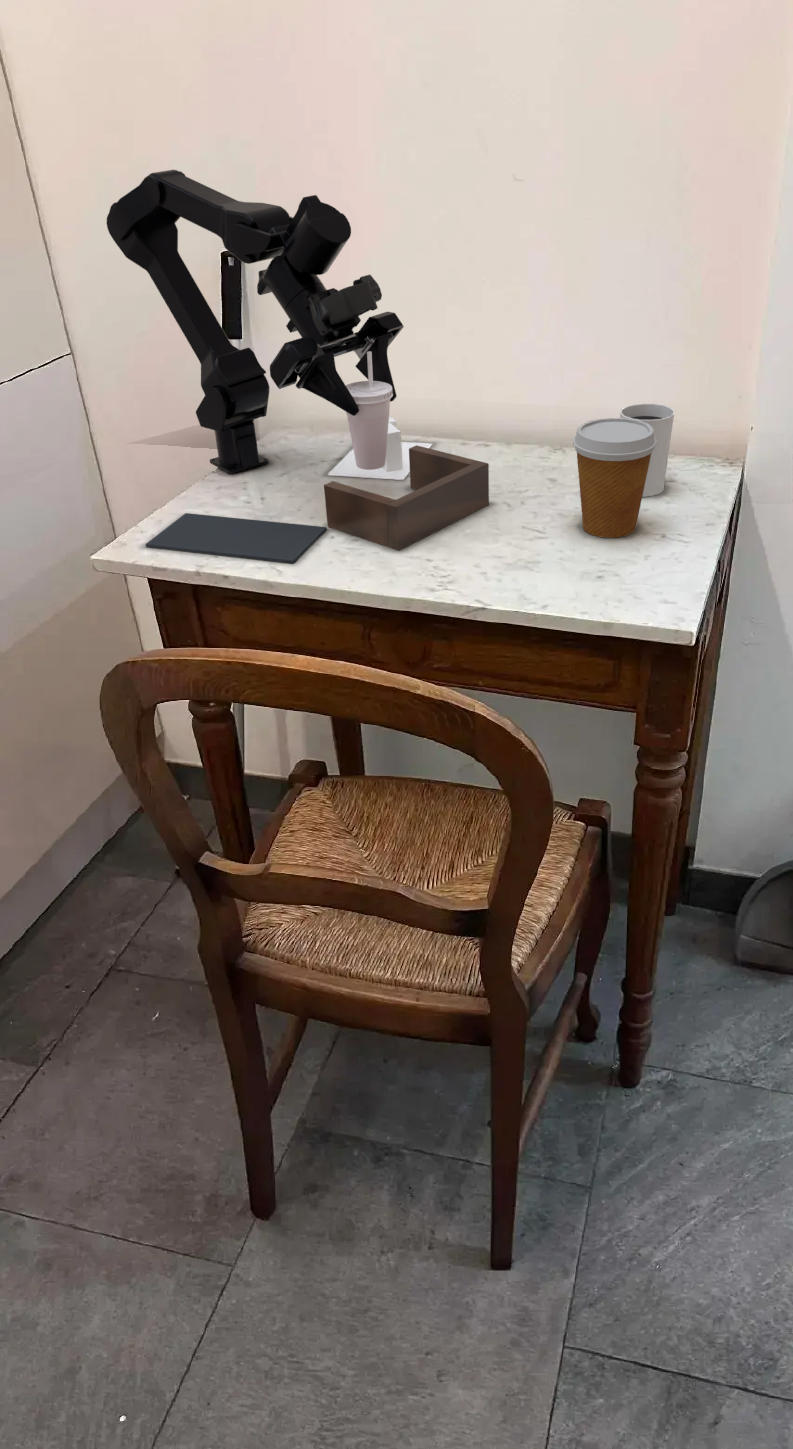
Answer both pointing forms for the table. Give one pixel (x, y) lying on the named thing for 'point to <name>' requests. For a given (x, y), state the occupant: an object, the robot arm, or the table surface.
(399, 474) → the napkin holder
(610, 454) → the disposable coffee cup
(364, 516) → the frame
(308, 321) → the robot arm
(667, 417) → the white paper cup
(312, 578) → the table surface
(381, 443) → the smoothie
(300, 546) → the mat
